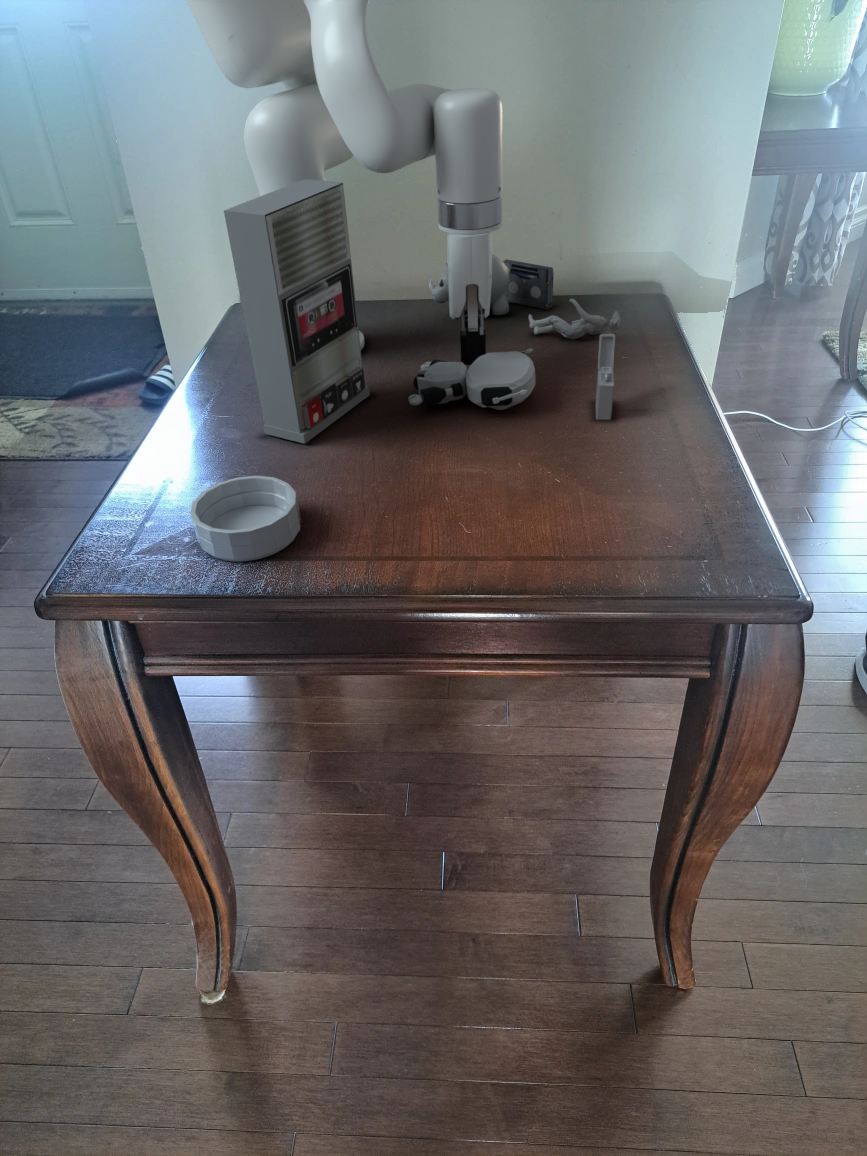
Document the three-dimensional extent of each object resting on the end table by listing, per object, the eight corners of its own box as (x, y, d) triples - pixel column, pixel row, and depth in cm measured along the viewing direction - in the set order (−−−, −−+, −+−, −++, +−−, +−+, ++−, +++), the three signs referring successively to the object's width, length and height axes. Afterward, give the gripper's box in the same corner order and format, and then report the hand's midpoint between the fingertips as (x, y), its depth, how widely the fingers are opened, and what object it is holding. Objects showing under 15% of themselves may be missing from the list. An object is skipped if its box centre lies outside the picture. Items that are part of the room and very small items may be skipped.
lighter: (611, 419, 97) (617, 354, 92) (595, 419, 97) (601, 354, 92) (609, 393, 102) (615, 330, 97) (595, 392, 102) (600, 329, 97)
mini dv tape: (552, 306, 126) (553, 266, 122) (546, 309, 125) (548, 269, 121) (507, 297, 130) (507, 258, 127) (502, 300, 129) (502, 260, 126)
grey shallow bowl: (177, 539, 81) (169, 509, 79) (254, 494, 87) (248, 465, 85) (245, 576, 76) (237, 545, 74) (322, 525, 82) (317, 495, 80)
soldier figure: (538, 331, 121) (620, 307, 117) (543, 362, 120) (626, 339, 116) (524, 308, 114) (610, 282, 110) (529, 341, 113) (616, 315, 109)
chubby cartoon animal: (427, 308, 128) (424, 252, 123) (504, 301, 129) (504, 245, 124) (433, 325, 122) (430, 267, 117) (513, 318, 123) (514, 259, 118)
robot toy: (407, 426, 99) (533, 421, 96) (402, 391, 97) (531, 385, 94) (424, 382, 109) (538, 376, 106) (419, 349, 106) (537, 342, 103)
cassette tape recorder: (307, 446, 95) (270, 216, 80) (265, 435, 97) (221, 210, 82) (371, 397, 104) (350, 182, 89) (332, 388, 107) (304, 178, 91)
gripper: (438, 198, 102) (445, 341, 114) (436, 232, 91) (443, 388, 102) (499, 195, 102) (499, 339, 113) (505, 229, 90) (505, 386, 101)
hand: (473, 362), depth 107 cm, fingers closed
